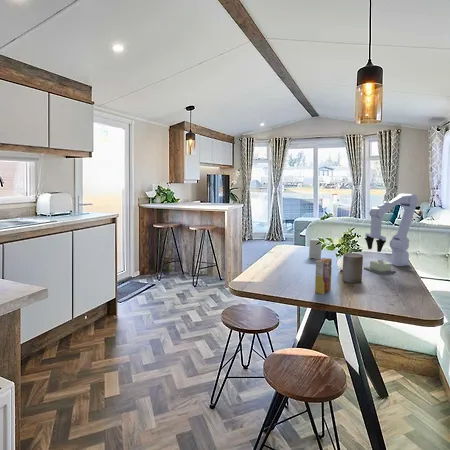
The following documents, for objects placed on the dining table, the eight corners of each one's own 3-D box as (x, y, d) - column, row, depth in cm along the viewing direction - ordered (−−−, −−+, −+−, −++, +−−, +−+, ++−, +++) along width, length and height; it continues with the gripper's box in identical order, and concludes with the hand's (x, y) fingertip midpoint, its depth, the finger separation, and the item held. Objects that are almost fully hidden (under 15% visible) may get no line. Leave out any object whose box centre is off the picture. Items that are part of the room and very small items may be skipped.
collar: (380, 266, 215) (380, 260, 214) (391, 270, 207) (391, 263, 207) (369, 268, 212) (370, 261, 211) (380, 271, 204) (380, 264, 204)
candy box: (322, 288, 175) (324, 257, 173) (331, 290, 173) (332, 258, 171) (314, 292, 169) (315, 260, 167) (322, 294, 166) (324, 262, 164)
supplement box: (320, 259, 236) (321, 240, 234) (309, 259, 238) (310, 239, 236) (320, 257, 243) (321, 238, 242) (308, 256, 245) (309, 238, 243)
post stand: (380, 267, 217) (381, 256, 216) (395, 272, 206) (396, 261, 205) (363, 268, 213) (364, 258, 213) (378, 274, 202) (379, 262, 201)
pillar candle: (361, 279, 192) (362, 251, 190) (361, 284, 183) (363, 254, 181) (342, 277, 195) (343, 250, 193) (341, 282, 186) (342, 253, 184)
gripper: (361, 226, 220) (360, 248, 221) (379, 229, 206) (378, 253, 208) (371, 226, 222) (369, 247, 224) (389, 229, 208) (387, 252, 210)
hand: (374, 250), depth 216 cm, fingers open, 7 cm apart
